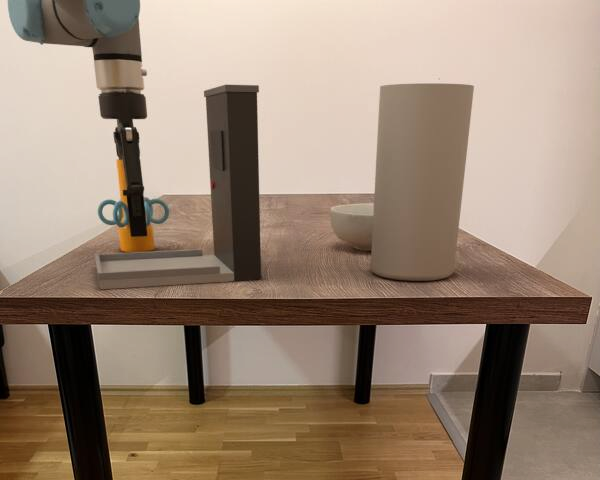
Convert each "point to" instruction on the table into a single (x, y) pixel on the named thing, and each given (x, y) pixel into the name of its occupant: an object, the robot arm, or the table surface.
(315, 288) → the table surface
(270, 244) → the table surface
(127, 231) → the cylinder
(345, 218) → the cereal bowl
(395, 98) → the cylinder vase
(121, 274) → the grey l-shaped stand
